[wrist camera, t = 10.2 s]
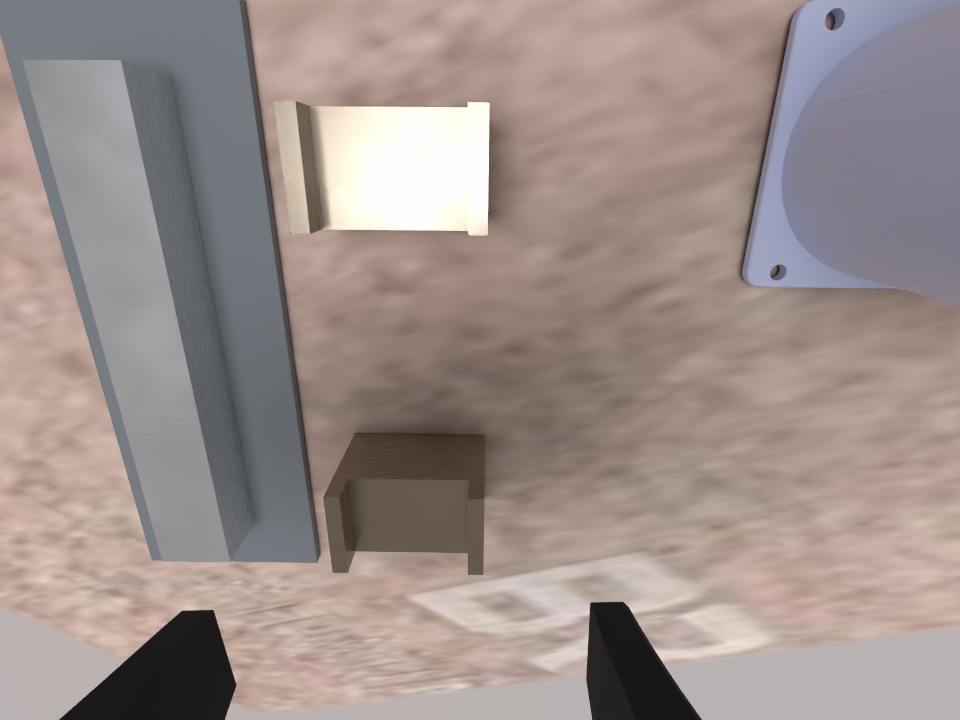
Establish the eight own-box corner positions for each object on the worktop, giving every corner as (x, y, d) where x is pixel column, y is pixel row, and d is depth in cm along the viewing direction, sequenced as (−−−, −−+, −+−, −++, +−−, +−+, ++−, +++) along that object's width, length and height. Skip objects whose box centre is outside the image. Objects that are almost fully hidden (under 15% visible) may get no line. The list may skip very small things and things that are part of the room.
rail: (172, 75, 15) (121, 60, 12) (256, 522, 20) (230, 561, 18) (87, 75, 15) (21, 59, 13) (194, 521, 20) (162, 561, 18)
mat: (244, 0, 14) (238, -4, 14) (320, 555, 21) (316, 562, 21) (1, -1, 14) (-12, -6, 14) (157, 553, 21) (151, 560, 21)
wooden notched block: (488, 118, 15) (489, 102, 11) (487, 220, 16) (487, 235, 13) (325, 117, 15) (273, 100, 12) (335, 219, 16) (290, 233, 13)
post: (484, 435, 19) (484, 499, 15) (483, 499, 20) (483, 574, 16) (354, 433, 19) (323, 497, 15) (361, 498, 20) (332, 572, 17)
